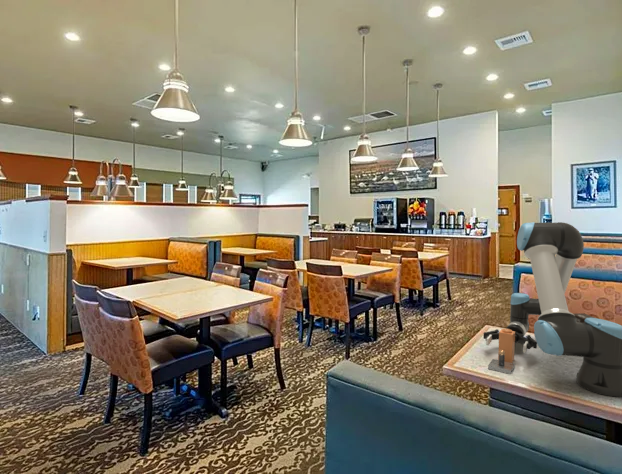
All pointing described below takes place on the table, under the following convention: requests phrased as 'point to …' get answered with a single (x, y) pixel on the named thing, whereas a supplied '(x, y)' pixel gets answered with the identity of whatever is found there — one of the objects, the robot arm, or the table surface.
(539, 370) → the table surface
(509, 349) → the orange capped block
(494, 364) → the junction plate
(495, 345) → the table surface
